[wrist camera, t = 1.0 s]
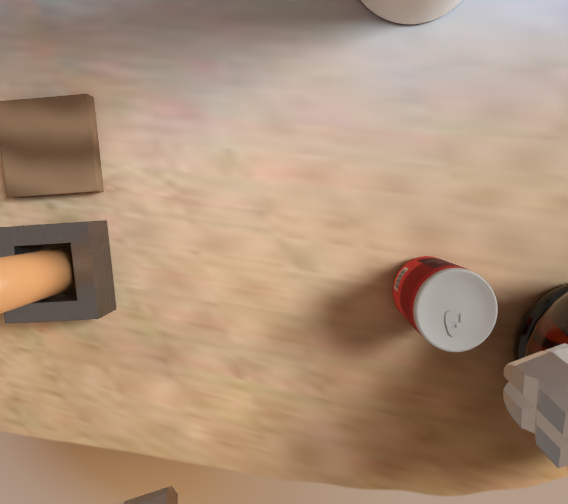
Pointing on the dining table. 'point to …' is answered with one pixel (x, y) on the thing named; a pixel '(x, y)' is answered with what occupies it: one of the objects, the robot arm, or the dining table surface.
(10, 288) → the tan peg
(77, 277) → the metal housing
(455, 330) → the canned food
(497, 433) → the dining table surface
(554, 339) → the amphora vase
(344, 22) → the dining table surface
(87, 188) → the walnut board
